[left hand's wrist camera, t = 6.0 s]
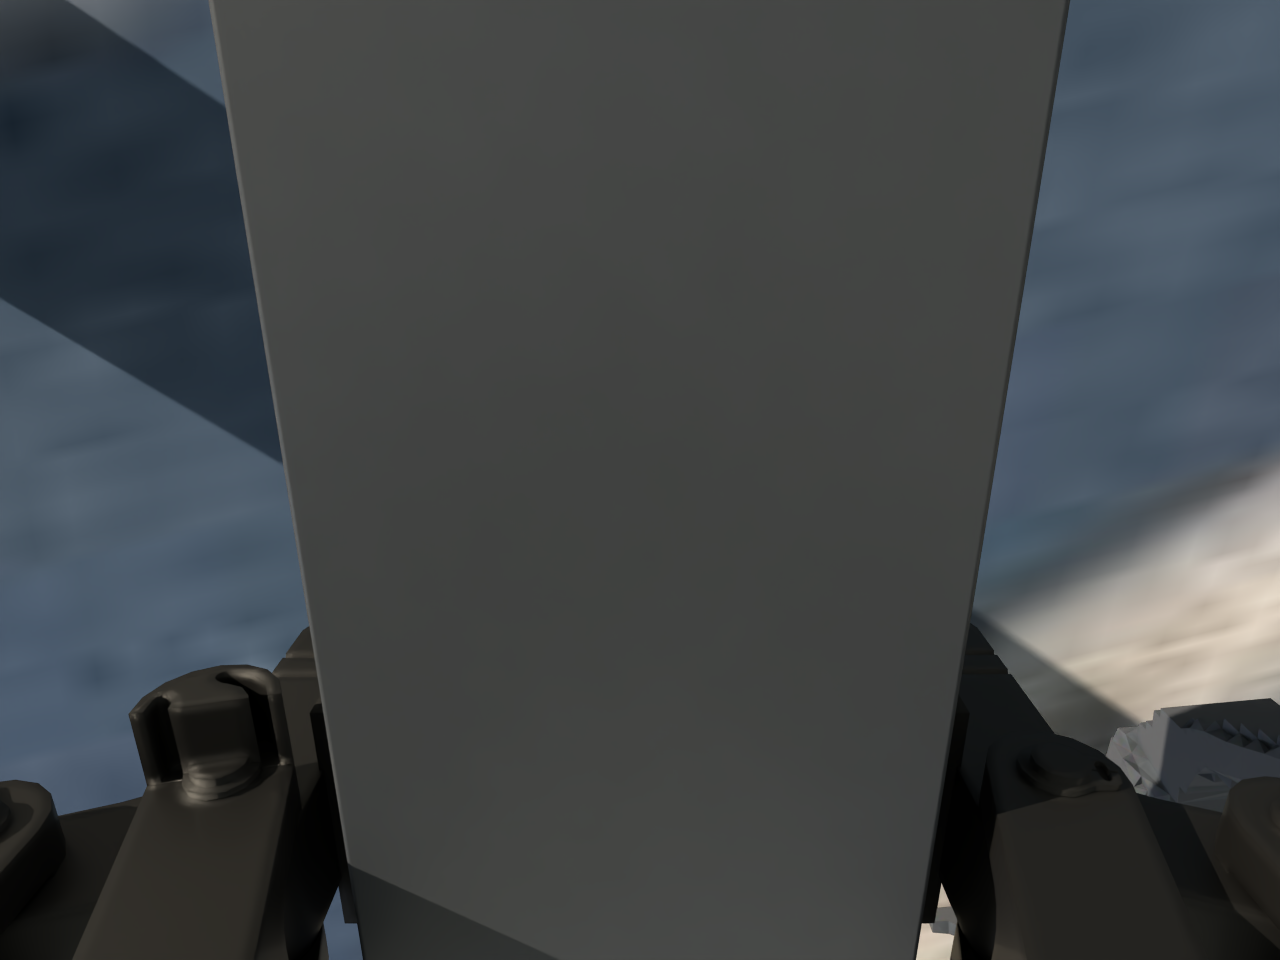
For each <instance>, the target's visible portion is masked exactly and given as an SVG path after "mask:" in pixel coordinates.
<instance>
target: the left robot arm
mask: <svg viewBox="0 0 1280 960" xmlns="http://www.w3.org/2000/svg"><path fill="white" fill-rule="evenodd" d="M1007 671H1008V669H1007V668H1006V667H1005V665H1004V664H1003V662H1002V661H1001V660H1000V658H999V657H998V656H997V655H994V650H993V649H992V647H991V646H990V645H989V643H988V642H987V640H986V639H985V638H984V636H983V635H982V634H981V632H980V631H979V630H978V628H977V627H975V626H974V625H972V624H971V623H970V626H969V632H968V638H967V644H966V651H965V657H964V663H963V669H962V676H961V682H960V688H959V694H958V700H957V707H956V713H955V719H954V725H953V731H952V738H951V744H950V750H949V756H948V763H947V769H946V775H945V781H944V787H943V794H942V800H941V806H940V812H939V819H938V825H937V831H936V837H935V843H934V850H933V856H932V862H931V868H930V875H929V881H928V887H927V893H926V899H925V906H924V912H923V918H922V923H935V918H936V912H937V906H938V900H939V894H940V888H941V883H942V885H943V887H944V890H945V892H946V895H947V897H948V899H949V902H950V904H951V906H952V909H953V911H954V914H955V916H956V918H957V924H956V929H955V935H954V941H953V946H952V952H951V957H950V960H1280V778H1276V777H1268V776H1262V777H1255V778H1249V779H1242V780H1241V781H1240V782H1238V783H1237V784H1236V785H1235V786H1234V787H1232V788H1231V789H1230V790H1229V793H1228V796H1227V800H1226V803H1225V806H1224V809H1223V812H1218V811H1213V810H1208V809H1204V808H1199V807H1194V806H1190V805H1185V804H1180V803H1176V802H1171V801H1166V800H1162V799H1157V798H1154V797H1150V796H1147V795H1143V794H1139V793H1136V791H1135V788H1134V786H1133V784H1132V783H1131V782H1130V780H1129V779H1128V777H1127V776H1126V775H1125V773H1124V772H1123V770H1122V769H1121V768H1120V767H1119V766H1118V765H1117V764H1115V763H1114V762H1113V761H1112V760H1110V759H1109V758H1108V757H1106V756H1105V755H1104V754H1102V753H1101V752H1100V751H1098V750H1096V749H1094V748H1092V747H1090V746H1087V745H1085V744H1083V743H1081V742H1079V741H1077V740H1074V739H1072V738H1068V737H1064V736H1060V735H1056V734H1054V732H1053V731H1052V730H1051V728H1050V727H1049V726H1048V724H1047V723H1046V721H1045V720H1044V719H1043V717H1042V716H1041V715H1040V713H1039V712H1038V710H1037V709H1036V708H1035V706H1034V705H1033V704H1032V702H1031V701H1030V700H1029V698H1028V697H1027V695H1026V694H1025V693H1024V691H1023V690H1022V689H1021V687H1020V686H1019V684H1018V683H1017V682H1016V680H1015V679H1014V678H1013V676H1012V675H1011V674H1008V672H1007ZM129 718H130V722H131V726H132V729H133V733H134V737H135V741H136V745H137V749H138V752H139V756H140V760H141V764H142V768H143V772H144V775H145V779H146V783H147V788H146V790H145V792H144V795H143V797H139V798H135V799H132V800H128V801H125V802H121V803H116V804H112V805H107V806H102V807H98V808H93V809H88V810H84V811H79V812H75V813H70V814H65V815H61V816H58V815H57V812H56V808H55V805H54V802H53V799H52V796H51V793H50V792H48V791H47V790H46V789H45V788H43V787H42V786H41V785H40V784H39V783H33V782H27V781H20V780H10V781H2V782H0V960H329V955H328V948H327V941H326V935H325V929H324V924H323V921H324V919H325V917H326V914H327V912H328V909H329V907H330V905H331V902H332V900H333V897H334V895H335V893H336V890H337V888H338V885H339V891H340V897H341V903H342V909H343V915H344V921H345V923H357V918H356V912H355V906H354V900H353V894H352V887H351V881H350V875H349V869H348V863H347V856H346V850H345V844H344V838H343V832H342V825H341V819H340V813H339V807H338V801H337V794H336V788H335V782H334V776H333V770H332V763H331V757H330V751H329V745H328V739H327V732H326V726H325V720H324V714H323V708H322V701H321V695H320V689H319V683H318V676H317V670H316V664H315V658H314V652H313V645H312V639H311V633H310V627H307V628H306V629H304V630H303V631H302V632H301V633H300V635H299V636H298V638H297V639H296V640H295V642H294V643H293V645H292V646H291V647H290V649H289V650H288V651H287V653H286V658H282V660H281V661H280V662H279V664H278V665H277V667H276V668H275V669H274V671H273V672H272V673H271V672H270V671H269V670H267V669H263V668H259V667H255V666H251V665H220V666H216V667H211V668H207V669H202V670H197V671H193V672H190V673H188V674H185V675H183V676H180V677H178V678H176V679H173V680H171V681H168V682H166V683H164V684H162V685H161V686H159V687H158V688H156V689H155V690H153V691H152V692H150V693H149V694H147V695H146V696H144V697H143V698H142V699H141V700H140V701H139V702H138V704H137V705H136V706H135V707H134V708H133V709H132V711H131V712H130V713H129Z"/></svg>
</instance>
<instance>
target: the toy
mask: <svg viewBox="0 0 1280 960" xmlns="http://www.w3.org/2000/svg"><path fill="white" fill-rule="evenodd" d="M1106 757H1108V758H1109V759H1110V760H1112V761H1113V762H1114V763H1115V764H1117V765H1118V766H1119V767H1120V768H1121V769H1122V770H1123V772H1124V773H1125V775H1126V776H1127V777H1128V779H1129V780H1130V782H1131V783H1132V784H1133V786H1134V788H1135V791H1136V793H1139V794H1143V795H1147V796H1150V797H1154V798H1157V799H1162V800H1166V801H1171V802H1176V803H1180V804H1185V805H1190V806H1194V807H1199V808H1204V809H1208V810H1213V811H1218V812H1223V809H1224V806H1225V803H1226V800H1227V796H1228V793H1229V790H1230V789H1231V788H1232V787H1234V786H1235V785H1236V784H1237V783H1238V782H1240V781H1241V780H1242V779H1249V778H1255V777H1262V776H1268V777H1276V778H1280V705H1278V704H1277V703H1276V702H1275V701H1273V700H1272V699H1271V698H1268V699H1257V700H1246V701H1235V702H1224V703H1213V704H1203V705H1192V706H1181V707H1170V708H1161V710H1155V711H1154V716H1153V721H1146V722H1144V723H1140V724H1139V725H1138V726H1132V727H1120V728H1118V729H1117V731H1116V733H1115V735H1114V737H1111V740H1110V744H1109V747H1108V750H1107V754H1106ZM929 924H930V926H931V929H932V932H934V933H946V934H951V935H955V929H956V924H957V918H956V916H955V914H954V911H953V909H952V907H941V908H937V912H936V918H935V923H929Z"/></svg>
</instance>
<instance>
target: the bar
mask: <svg viewBox="0 0 1280 960" xmlns="http://www.w3.org/2000/svg"><path fill="white" fill-rule="evenodd" d="M1069 4H1070V0H209V6H210V13H211V19H212V25H213V31H214V37H215V44H216V50H217V56H218V62H219V68H220V75H221V81H222V87H223V93H224V99H225V106H226V112H227V118H228V124H229V130H230V137H231V143H232V149H233V155H234V161H235V168H236V174H237V180H238V186H239V192H240V199H241V205H242V211H243V217H244V223H245V230H246V236H247V242H248V248H249V255H250V261H251V267H252V273H253V279H254V286H255V292H256V298H257V304H258V310H259V317H260V323H261V329H262V335H263V341H264V348H265V354H266V360H267V366H268V372H269V379H270V385H271V391H272V397H273V403H274V410H275V416H276V422H277V428H278V434H279V441H280V447H281V453H282V459H283V466H284V472H285V478H286V484H287V490H288V497H289V503H290V509H291V515H292V521H293V528H294V534H295V540H296V546H297V552H298V559H299V565H300V571H301V577H302V583H303V590H304V596H305V602H306V608H307V614H308V621H309V627H310V633H311V639H312V645H313V652H314V658H315V664H316V670H317V676H318V683H319V689H320V695H321V701H322V708H323V714H324V720H325V726H326V732H327V739H328V745H329V751H330V757H331V763H332V770H333V776H334V782H335V788H336V794H337V801H338V807H339V813H340V819H341V825H342V832H343V838H344V844H345V850H346V856H347V863H348V869H349V875H350V881H351V887H352V894H353V900H354V906H355V912H356V918H357V925H358V931H359V937H360V943H361V950H362V956H363V960H916V955H917V949H918V943H919V937H920V931H921V924H922V918H923V912H924V906H925V899H926V893H927V887H928V881H929V875H930V868H931V862H932V856H933V850H934V843H935V837H936V831H937V825H938V819H939V812H940V806H941V800H942V794H943V787H944V781H945V775H946V769H947V763H948V756H949V750H950V744H951V738H952V731H953V725H954V719H955V713H956V707H957V700H958V694H959V688H960V682H961V676H962V669H963V663H964V657H965V651H966V644H967V638H968V632H969V626H970V620H971V613H972V607H973V601H974V595H975V588H976V582H977V576H978V570H979V564H980V557H981V551H982V545H983V539H984V532H985V526H986V520H987V514H988V508H989V501H990V495H991V489H992V483H993V476H994V470H995V464H996V458H997V452H998V445H999V439H1000V433H1001V427H1002V420H1003V414H1004V408H1005V402H1006V396H1007V389H1008V383H1009V377H1010V371H1011V364H1012V358H1013V352H1014V346H1015V340H1016V333H1017V327H1018V321H1019V315H1020V308H1021V302H1022V296H1023V290H1024V284H1025V277H1026V271H1027V265H1028V259H1029V252H1030V246H1031V240H1032V234H1033V228H1034V221H1035V215H1036V209H1037V203H1038V197H1039V190H1040V184H1041V178H1042V172H1043V165H1044V159H1045V153H1046V147H1047V141H1048V134H1049V128H1050V122H1051V116H1052V109H1053V103H1054V97H1055V91H1056V85H1057V78H1058V72H1059V66H1060V60H1061V53H1062V47H1063V41H1064V35H1065V29H1066V22H1067V16H1068V10H1069Z"/></svg>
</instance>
